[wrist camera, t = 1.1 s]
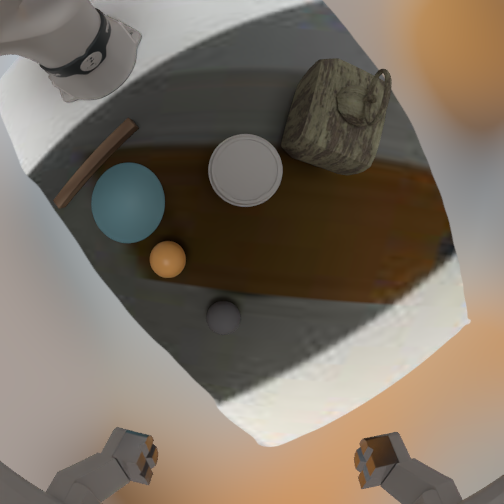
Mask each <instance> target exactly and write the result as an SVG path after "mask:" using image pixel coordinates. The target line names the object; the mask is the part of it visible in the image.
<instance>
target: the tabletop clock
mask: <svg viewBox="0 0 504 504" xmlns="http://www.w3.org/2000/svg"><path fill="white" fill-rule="evenodd" d="M382 73H384V75H385V81H383V80H381V79H379V76H380V75H381V74H382ZM390 93H391V76H390V73H389V72H388V71H387V70H386V69H381V70H379V71H378V72H377V73H376V74H375V76H373V75H372V74H370V73H368V72H366V71H364V70H362V69H360V68H357V67H355V66H353V65H351V64H349V63H347V62H345V61H342V60H340V59H322V60H318V61H317V62H316V63H315V64H314V65H313V66H312V67H311V68H310V69H309V70H308V71H307V73H306V74H305V75H304V76H303V78H302V79H301V81H300V82H299V84H298V86H297V89H296V92H295V95H294V98H293V101H292V105H291V108H290V112H289V115H288V119H287V123H286V126H285V130H284V134H283V138H282V143H281V147H282V148H283V149H284V150H285V151H286V152H287V153H288V154H289V155H290V156H291V157H292V158H294V159H297V160H300V161H303V162H306V163H309V164H312V165H313V166H318V167H321V168H323V169H326V170H329V171H332V172H335V173H337V174H342V175H351V174H357V173H360V172H363V171H365V170H366V169H368V168H369V167H370V166H371V164H372V162H373V160H374V158H375V155H376V152H377V149H378V146H379V142H380V138H381V134H382V130H383V126H384V121H385V115H386V109H387V106H388V102H389V99H390Z"/></svg>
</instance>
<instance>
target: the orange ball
mask: <svg viewBox="0 0 504 504" xmlns="http://www.w3.org/2000/svg"><path fill="white" fill-rule="evenodd" d="M185 263H186V256H185V253H184V250H183V249H182V247H181V246H180V245H178V244H177V243H175V242H172V241H164V242H161V243H159V244H157V245H156V246H155V247H154V248H153V250H152V252H151V254H150V264H151V267H152V269H153V270H154V272H155V273H156V274H158V275H159V276H161V277H164V278H171V277H175V276H177V275H178V274H180V273H181V271H182V270H183V269H184V266H185Z"/></svg>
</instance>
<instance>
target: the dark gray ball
mask: <svg viewBox="0 0 504 504" xmlns="http://www.w3.org/2000/svg"><path fill="white" fill-rule="evenodd" d="M240 321H241V315H240V312H239V310H238V308H237V307H236V306H235V305H234V304H233V303H231V302H228V301H219V302H216V303H214V304H213V305H212V306H211V307H210V308H209V310H208V312H207V323H208V326H209V327H210V329H211V330H212V331H214V332H215V333H217V334H221V335H227V334H230V333H232V332H234V331H235V330H236V329H237V328H238V326H239V324H240Z"/></svg>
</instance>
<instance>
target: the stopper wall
mask: <svg viewBox="0 0 504 504" xmlns="http://www.w3.org/2000/svg"><path fill="white" fill-rule="evenodd" d="M138 129H139V128H138V126H137V125H136V124H135V123H134V122H133V120H131V119H129V118H127V119H126V120H125V121H124V122H123V123H122V124H121V125H120V126H119V127H118V128H117V129H116V130H115V131H114V132H113V133H112V134H111V135H110V136H109V137H108V138H107V139H106V140H105V141H104V142H103V143H102V144H101V145H100V146H99V147H98V148H97V149H96V150H95V151H94V152H93V153H92V154H91V156H90V157H89V158H88V159H87V160H86V161H85V162H84V163H83V165H82V166H81V167H80V168H79V169H78V170H77V171H76V173H75V174H74V175H73V176H72V177H71V179H70V180H69V181H68V182H67V184H66V185H65V186H64V187H63V189H62V190H61V191H60V192H59V194H58V195H57V196H56V198H55V199H54V200H53V201H54V202H55V204H56V205H57V207H58V208H64V207H66V206H67V205H68V203H69V202H70V201H71V200H72V198H73V197H74V196H75V195H76V193H77V192H78V191H79V190H80V189H81V188H82V186H83V185H84V184H85V183H86V182H87V181H88V179H89V178H90V177H91V176H92V175H93V174H94V173H95V172H96V171H97V170H98V168H99V167H100V166H101V165H102V164H103V163H104V162H105V161H106V160H107V159H108V158H109V157H110V156H111V155H112V154H113V153H114V152H115V151H116V150H117V149H118V148H119V147H120V146H121V145H122V144H123V143H124V142H125V141H126V140H127V139H128V138H129V137H130V136H131V135H132V134H133V133H134V132H136V131H137V130H138Z"/></svg>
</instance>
